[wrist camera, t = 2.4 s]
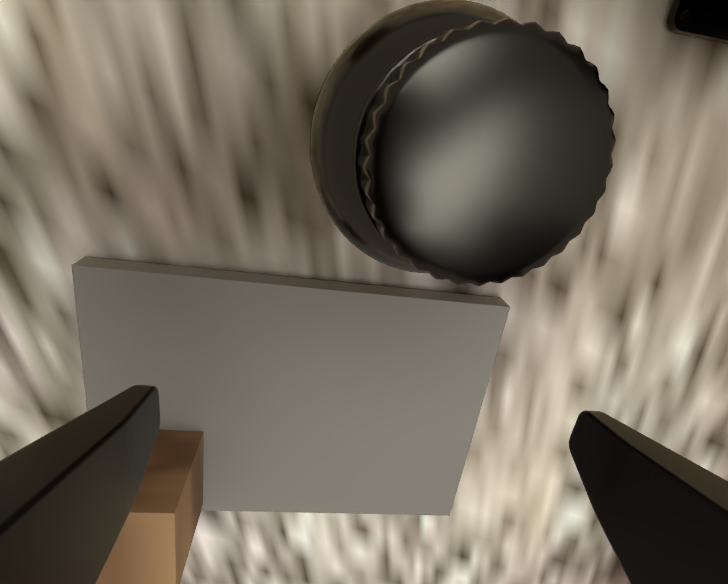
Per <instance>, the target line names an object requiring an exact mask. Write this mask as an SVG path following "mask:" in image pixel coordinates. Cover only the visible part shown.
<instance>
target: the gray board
mask: <svg viewBox="0 0 728 584" xmlns="http://www.w3.org/2000/svg"><path fill="white" fill-rule="evenodd" d="M72 273H73V282H74V291H75V300H76V310H77V319H78V328H79V338H80V347H81V356H82V365H83V375H84V384H85V393H86V402H87V411H89V410H91V409H93V408H94V407H96V406H98V405H100V404H101V403H103V402H105V401H107V400H108V399H110V398H112V397H114V396H116V395H117V394H119V393H121V392H123V391H124V390H126V389H128V388H130V387H132V386H134V385H151V386H155V387H157V389H158V392H159V405H160V428H159V429H160V430H182V431H203V432H204V454H203V505H202V509H201V510H214V511H262V512H310V513H357V514H405V515H450V512H451V509H452V505H453V502H454V499H455V495H456V492H457V488H458V485H459V481H460V478H461V474H462V471H463V467H464V464H465V461H466V457H467V454H468V450H469V447H470V443H471V440H472V436H473V433H474V430H475V426H476V423H477V419H478V416H479V412H480V409H481V405H482V402H483V399H484V395H485V392H486V388H487V385H488V381H489V378H490V374H491V371H492V367H493V364H494V361H495V357H496V354H497V350H498V347H499V343H500V340H501V336H502V333H503V330H504V326H505V323H506V319H507V316H508V312H509V309H510V307H509V306H508V305H507V304H506V303H505V302H504V301H503V300H502V299H501V298H499V297H489V296H479V295H469V294H459V293H448V292H438V291H428V290H418V289H408V288H398V287H388V286H378V285H367V284H357V283H347V282H337V281H327V280H317V279H307V278H297V277H286V276H276V275H266V274H256V273H246V272H236V271H226V270H215V269H205V268H195V267H185V266H175V265H165V264H155V263H145V262H134V261H124V260H114V259H104V258H94V257H84V258H83V259H81V260H79V261H78V262H76V263H74V264H73V265H72Z"/></svg>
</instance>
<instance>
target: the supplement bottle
mask: <svg viewBox="0 0 728 584" xmlns="http://www.w3.org/2000/svg"><path fill="white" fill-rule="evenodd" d="M608 99H609V95H608V89H607V88H606V86H605V85H604V84H602V83H601V82H600V80H599V73H598V70H597V67H596V66H595V65H593V64H592V63H590V62H588V61H586V59H585V58H584V54H583V52H582V50H581V48H580V47H578V46H575V45H571V44H568V43H567V42H566V40H565V39H564V37H563V36H562V35H561V34H560V32H554V31H548V32H546V31H545V30H543V29H542V27H541V26H540V25H538V24H537V23H536V22H528V23H523V24H519V23H518V22H517V21H515V20H514V19H512V18H510V17H509V16H507V15H506V14H504V13H502V12H500V11H498V10H496V9H494V8H491V7H488V6H486V5H483V4H480V3H475V2H470V1H466V0H430V1H424V2H420V3H416V4H412V5H409V6H406V7H404V8H401V9H398V10H396V11H394V12H392V13H390V14H388V15H386V16H384V17H383V18H381V19H380V20H378V21H377V22H375V23H374V24H372V25H371V26H369V27H368V28H367V29H366V30H365V31H363V32H362V33H361V34H360V35H359V36H357V37H356V38H355V39H354V40H353V41H352V42H351V44H350V45H349V46H348V47H347V48H346V49H345V50H344V51H343V53H342V54H341V55H340V56H339V58H338V59H337V61H336V62H335V64H334V65H333V67H332V68H331V70H330V72H329V74H328V76H327V77H326V79H325V81H324V83H323V86H322V88H321V91H320V93H319V96H318V99H317V102H316V105H315V109H314V113H313V118H312V124H311V134H310V155H311V165H312V170H313V176H314V180H315V183H316V187H317V190H318V192H319V195H320V197H321V200H322V202H323V204H324V206H325V208H326V210H327V212H328V214H329V216H330V217H331V219H332V220H333V222H334V223H335V225H336V226H337V227H338V229H339V230H340V231H341V232H342V234H343V235H344V236H345V237H346V238H347V239H348V240H349V241H350V242H351V243H352V244H354V245H355V246H356V247H357V248H358V249H360V250H361V251H362V252H364V253H365V254H367V255H368V256H370V257H372V258H374V259H375V260H377V261H379V262H381V263H384V264H386V265H388V266H391V267H394V268H397V269H401V270H405V271H410V272H418V273H429V274H430V275H432V276H433V277H434V278H435V279H449V280H450V281H452V282H453V283H455V284H457V285H458V284H465V283H472V284H474V285H477V286H480V285H484V284H486V283H488V282H494V283H502V282H504V281H506V280H508V279H510V278H511V277H522V276H524V275H525V274H527V273H528V272H529V271H530V270H531V269H533V268H538V267H541V266H544V265H545V264H546V263H547V261H548V260H549V259H550V258H551V257H552V256H554V255H557V254H559V253H561V252H563V250H564V249H565V247H566V245H567V244H568V242H569V241H570V240H572V239H573V238H575V237H576V236H578V235H579V234H580V232H581V230H582V228H583V226H584V223H585V222H586V221H587V220H588V219H589V218H590V217H591V216H592V215H593V214H594V212H595V209H596V204H597V201H598V200H599V199H600V197H601V196H602V195H603V193H604V192H605V189H606V178H607V176H608V174H609V173H610V171H611V168H612V166H613V164H612V158H611V153H612V151H613V148H614V145H615V141H616V140H615V136H614V133H613V130H612V126H613V122H614V113H613V111H612V109H611V108H610V107H609V105H608Z"/></svg>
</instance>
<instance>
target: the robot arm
mask: <svg viewBox="0 0 728 584" xmlns="http://www.w3.org/2000/svg"><path fill="white" fill-rule="evenodd" d="M682 13H684V16H685V17H684V21H683V23H681V21H680V16H681V14H682ZM667 25H668V28H669V30H670V31H672V32H674V33H679V34H683V35H688V36H693V37H698V38H703V39H708V40H713V41H717V42H722V43H727V44H728V0H674V1H673V4H672V7H671V10H670V13H669V16H668V20H667ZM159 428H160V405H159V392H158V389H157V387H155V386H151V385H134V386H132V387H130V388H128V389H126V390H124V391H123V392H121V393H119V394H117V395H116V396H114V397H112V398H110V399H108V400H107V401H105V402H103V403H101V404H100V405H98V406H96V407H94V408H93V409H91V410H89V411H87V412H86V413H84V414H82V415H80V416H78V417H77V418H75V419H73V420H71V421H70V422H68V423H66V424H64V425H63V426H61V427H59V428H57V429H55V430H54V431H52V432H50V433H48V434H47V435H45V436H43V437H41V438H40V439H38V440H36V441H34V442H33V443H31V444H29V445H27V446H25V447H24V448H22V449H20V450H18V451H17V452H15V453H13V454H11V455H10V456H8V457H6V458H4V459H2V460H1V461H0V584H96V582H97V580H98V578H99V576H100V574H101V572H102V570H103V568H104V565H105V563H106V561H107V559H108V557H109V555H110V553H111V551H112V549H113V547H114V544H115V542H116V540H117V538H118V536H119V534H120V532H121V530H122V528H123V526H124V523H125V521H126V519H127V517H128V515H129V513H130V510H131V508H132V506H133V503H134V501H135V498H136V495H137V493H138V490H139V487H140V484H141V481H142V478H143V475H144V472H145V470H146V467H147V464H148V461H149V458H150V455H151V452H152V449H153V446H154V443H155V441H156V438H157V435H158V432H159ZM569 448H570V452H571V455H572V457H573V460H574V462H575V465H576V467H577V470H578V472H579V475H580V477H581V480H582V482H583V485H584V487H585V490H586V492H587V495H588V497H589V500H590V502H591V504H592V507H593V509H594V512H595V514H596V516H597V518H598V520H599V522H600V524H601V527H602V529H603V530H604V532H605V534H606V536H607V538H608V540H609V542H610V544H611V546H612V548H613V550H614V552H615V554H616V556H617V558H618V560H619V562H620V564H621V566H622V568H623V570H624V572H625V573H626V575H627V577H628V579H629V581H630V583H631V584H728V481H726V480H724V479H722V478H721V477H719V476H717V475H715V474H713V473H712V472H710V471H708V470H706V469H704V468H703V467H701V466H699V465H697V464H695V463H694V462H692V461H690V460H688V459H686V458H684V457H683V456H681V455H679V454H677V453H675V452H674V451H672V450H670V449H668V448H666V447H665V446H663V445H661V444H659V443H657V442H656V441H654V440H652V439H650V438H648V437H647V436H645V435H643V434H641V433H639V432H637V431H636V430H634V429H632V428H630V427H628V426H627V425H625V424H623V423H621V422H619V421H618V420H616V419H614V418H612V417H610V416H609V415H607V414H605V413H603V412H600V411H583V412H581V413H580V414H579V416H578V418H577V421H576V424H575V426H574V429H573V431H572V434H571V436H570V440H569Z"/></svg>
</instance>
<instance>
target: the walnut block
mask: <svg viewBox="0 0 728 584" xmlns="http://www.w3.org/2000/svg"><path fill="white" fill-rule="evenodd" d="M203 454H204V432H203V431H182V430H160V429H159V432H158V435H157V438H156V441H155V443H154V446H153V449H152V452H151V455H150V458H149V461H148V464H147V467H146V470H145V472H144V475H143V478H142V481H141V484H140V487H139V490H138V493H137V495H136V498H135V501H134V503H133V506H132V508H131V510H130V513H129V515H128V517H127V519H126V521H125V523H124V526H123V528H122V530H121V532H120V534H119V536H118V538H117V540H116V542H115V544H114V547H113V549H112V551H111V553H110V555H109V557H108V559H107V561H106V563H105V565H104V568H103V570H102V572H101V574H100V576H99V578H98V580H97V582H96V584H180V581H181V577H182V574H183V570H184V567H185V563H186V560H187V557H188V553H189V550H190V546H191V543H192V539H193V536H194V533H195V529H196V526H197V522H198V519H199V516H200V512H201V509H202V505H203Z"/></svg>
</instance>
